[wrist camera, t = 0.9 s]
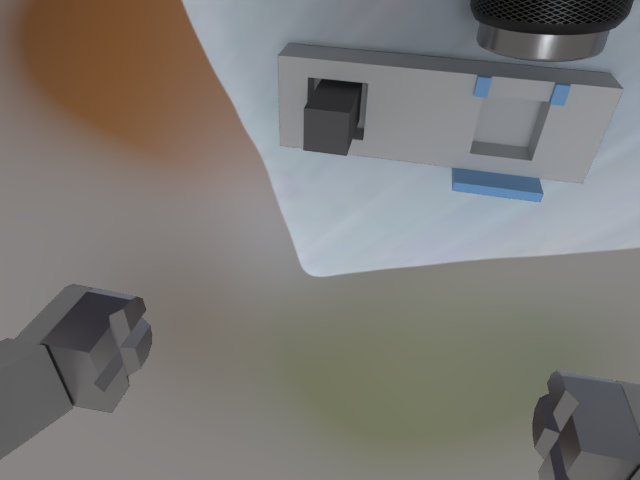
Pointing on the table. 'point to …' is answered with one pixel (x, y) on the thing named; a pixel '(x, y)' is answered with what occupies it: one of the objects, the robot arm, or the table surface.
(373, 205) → the table surface
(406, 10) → the table surface
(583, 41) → the muzzle brake
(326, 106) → the dark rectangular block
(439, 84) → the grey board with holes
